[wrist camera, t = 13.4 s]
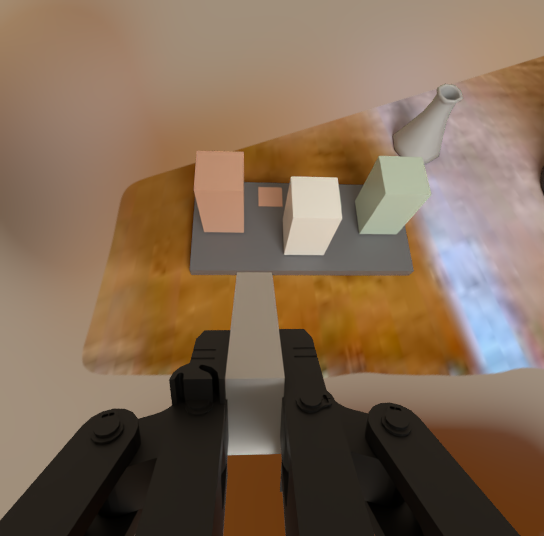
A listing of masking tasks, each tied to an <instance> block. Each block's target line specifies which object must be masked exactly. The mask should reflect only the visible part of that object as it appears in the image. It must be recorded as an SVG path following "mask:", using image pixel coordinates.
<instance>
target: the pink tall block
mask: <svg viewBox="0 0 544 536" xmlns="http://www.w3.org/2000/svg"><path fill="white" fill-rule="evenodd" d="M194 193H195V197H196V201H197V205H198V209H199V213H200V217H201V221H202V225H203V230H204V232H235V233H244V152H227V151H197V154H196V167H195V180H194Z"/></svg>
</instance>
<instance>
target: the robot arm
mask: <svg viewBox="0 0 544 536" xmlns="http://www.w3.org/2000/svg"><path fill="white" fill-rule="evenodd" d="M541 184H542V188H543V191H544V167H543V169H542V173H541ZM169 381H170V390H171V399H172V406H171V407H169V408H168V409H166V410H164V411H162V412H160V413H157V414H154V415H151V416H147V417H143V418H140V419H138V418H137V417H136V416H135V414H134V413H133V412H131V411H129V410H126V409H111V410H107V411H103V412H101V413H99V414H97V415H95V416H93V417H92V418H90V419H89V420H88V421H87V422H86V423H85V424H84V425H83V426H82V427H81V428H80V429H79V430H78V431H77V432H76V433H75V435H74V436H73V437H72V438H71V439H70V440H69V442H68V443H67V444H66V445H65V446H64V448H63V449H62V450H61V451H60V452H59V453H58V454H57V456H56V457H55V458H54V459H53V460H52V461H51V462H50V464H49V465H48V466H47V467H46V468H45V469H44V471H43V472H42V473H41V474H40V475H39V476H38V477H37V479H36V480H35V481H34V482H33V483H32V484H31V486H30V487H29V488H28V489H27V490H26V492H25V493H24V494H23V495H22V496H21V497H20V498H19V499H18V501H17V502H16V503H15V504H14V505H13V507H12V508H11V509H10V510H9V511H8V512H7V513H6V514H5V516H4V517H3V518H2V519H1V520H0V536H223V528H224V515H225V501H226V486H227V455H247V454H248V455H249V454H280V453H281V454H282V466H281V483H280V492H283V504H284V518H285V532H286V536H374V534H375V536H520V535H519V534H518V533H517V531H516V530H515V529H514V528H513V527H512V526H511V524H510V523H509V522H508V521H507V520H506V519H505V517H504V516H503V515H502V514H501V513H500V511H499V510H498V509H497V508H496V507H495V506H494V505H493V503H492V502H491V501H490V500H489V499H488V498H487V496H486V495H485V494H484V493H483V492H482V491H481V489H480V488H479V487H478V486H477V485H476V484H475V482H474V481H473V480H472V479H471V478H470V477H469V475H468V474H467V473H466V472H465V471H464V470H463V468H462V467H461V466H460V465H459V464H458V463H457V462H456V460H455V459H454V458H453V457H452V456H451V454H450V453H449V452H448V451H447V450H446V449H445V447H444V446H443V445H442V444H441V443H440V442H439V440H438V439H437V438H436V437H435V436H434V435H433V433H432V432H431V431H430V430H429V429H428V428H427V427H426V425H425V424H424V423H423V422H422V421H421V419H420V418H419V417H418V416H416V415H415V414H414V413H413V412H412V411H411V410H409V409H407V408H405V407H403V406H401V405H397V404H393V403H380V404H378V405H375V406H374V407H372V409H371V410H370V411H369V413H364V412H360V411H356V410H352V409H349V408H346V407H344V406H342V405H340V404H338V403H337V402H336V401H335V400H334V398H333V396H332V395H331V394H330V393H329V392H328V391H327V390H326V387H325V383H324V380H323V376H322V372H321V369H320V365H319V361H318V358H317V354H316V350H315V347H314V343H313V339H312V337H311V336H310V335H309V334H308V333H307V332H306V331H305V330H304V329H279V326H278V318H277V310H276V302H275V293H274V285H273V277H272V272H237V278H236V287H235V296H234V305H233V313H232V322H231V330H208V331H204V332H203V333H202V334H201V335H200V336H199V337H198V338H197V339H196V342H195V346H194V351H193V353H192V357H191V361H190V363H189V364H186V365H184V366H181V367H180V368H179V369H177V370H176V371H175V372H174V373H173V374H172V376H171V377H170V380H169Z"/></svg>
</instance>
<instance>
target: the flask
mask: <svg viewBox="0 0 544 536" xmlns="http://www.w3.org/2000/svg"><path fill="white" fill-rule="evenodd" d="M462 98H463V97H462V92H461V90H460V89H459V88H457V87H456V86H455V85H452V84H444V85H441V86H440V87H438V88H437V94H436V96H435V98H434V99H433V101H432V102H431V103H430V104H429V105H428V107H427V108H426V109H425V110H424V111H423V112H422V113H420V114H419V115H418V116H417V117H416V118H414V119H413V120H412V121H411V122H410V123H408V124H407V125H406V126H404V127H403V128H402V129H401V130H399V131H398V132H397V133H395V134H394V135H393V140H394V148H395V151H396V152H397V153H398V154H399V155H400V156H401V157H422V158H423V162H424V164H427V163H429V162H430V161H432V160H434V159H435V158H437V157H439V153H440V149H441V144H442V139H443V134H444V130H445V126H446V122H447V120H448V117H449V115H450V113H451V110H452V109H453V107H454V106H455V104H456V103H457V102H459V101H461V100H462Z"/></svg>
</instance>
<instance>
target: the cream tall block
mask: <svg viewBox="0 0 544 536" xmlns="http://www.w3.org/2000/svg"><path fill="white" fill-rule="evenodd" d="M341 220H342V211H341V203H340V195H339V186H338V178H332V177H291V179H290V184H289V189H288V194H287V200H286V205H285V210H284V215H283V242H284V255H324V253H325V251H326V249H327V247H328V245H329V244H330V242H331V240H332V238H333V236H334V234H335V232H336V230H337V228H338V226H339V224H340V222H341Z"/></svg>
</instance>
